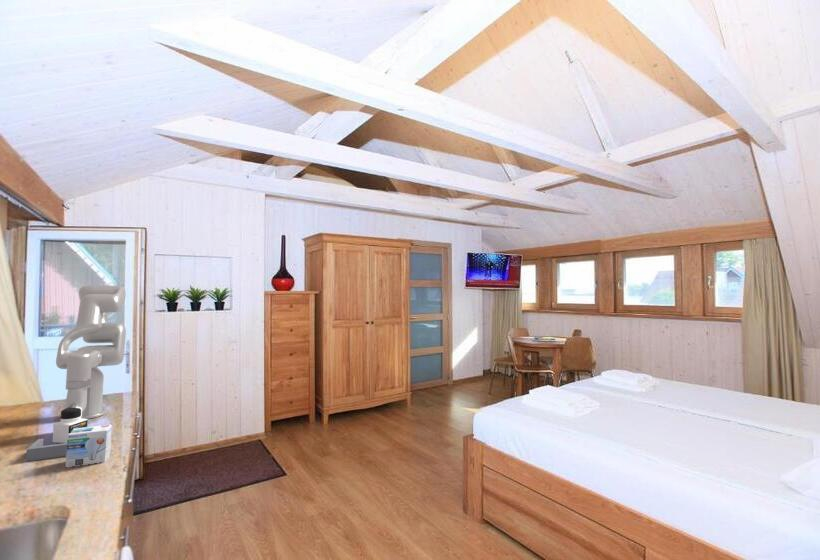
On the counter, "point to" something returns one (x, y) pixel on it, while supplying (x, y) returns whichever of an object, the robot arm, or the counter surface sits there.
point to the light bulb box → (88, 445)
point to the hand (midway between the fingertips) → (75, 430)
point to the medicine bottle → (68, 424)
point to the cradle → (45, 451)
